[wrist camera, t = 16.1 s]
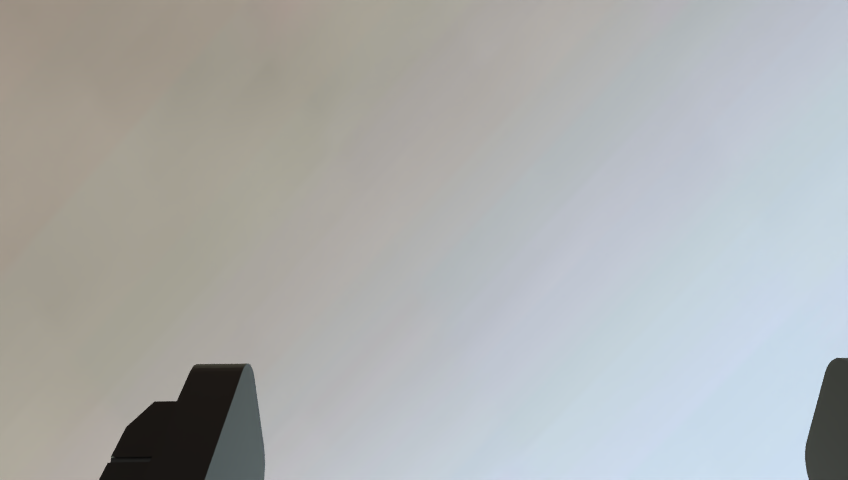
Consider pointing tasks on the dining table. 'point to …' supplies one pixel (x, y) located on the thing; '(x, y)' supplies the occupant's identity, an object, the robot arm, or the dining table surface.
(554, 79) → the dining table surface
